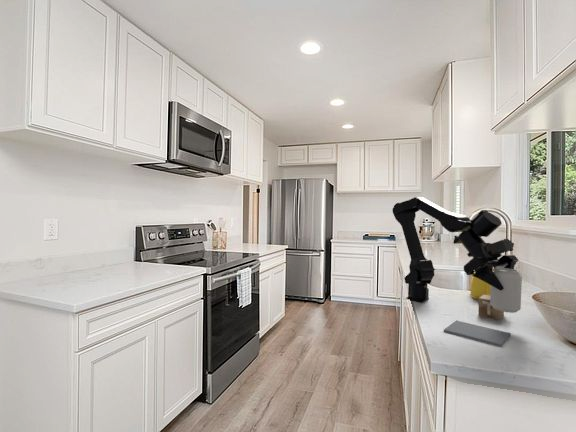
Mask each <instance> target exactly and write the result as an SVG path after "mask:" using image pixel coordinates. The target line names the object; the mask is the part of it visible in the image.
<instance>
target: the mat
mask: <svg viewBox="0 0 576 432" xmlns="http://www.w3.org/2000/svg"><path fill="white" fill-rule="evenodd" d="M443 332H445V333H448V334H452V335H456V336H459V337H463V338H467V339H470V340H475V341H478V342H481V343H486V344H488V345H492V346H497V347H500V348H501V347H503V345H504V344H505V342H506V341H507V340H508V339H509V337H510V336H511V333H510V332H508V331H502V330H500V329H495V328H491V327H486V326H482V325H477V324H474V323H470V322H466V321H460V320H456V319H455V321H454V322H452V323H450V324H449V325H448V326H447V327H445V328H444V329H443Z"/></svg>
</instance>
